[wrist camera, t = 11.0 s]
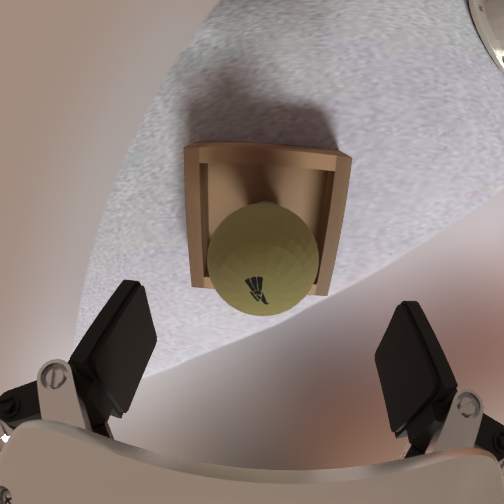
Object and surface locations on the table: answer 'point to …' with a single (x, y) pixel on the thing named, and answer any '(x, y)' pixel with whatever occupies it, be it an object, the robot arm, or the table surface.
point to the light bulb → (262, 259)
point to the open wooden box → (264, 194)
